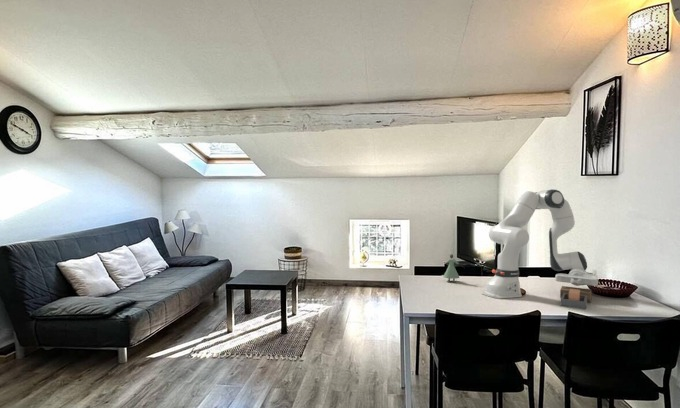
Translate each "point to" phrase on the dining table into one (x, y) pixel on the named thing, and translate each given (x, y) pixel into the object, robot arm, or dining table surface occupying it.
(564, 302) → the box
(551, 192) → the robot arm
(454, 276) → the character figurine
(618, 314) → the dining table surface
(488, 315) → the dining table surface
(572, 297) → the terracotta block
